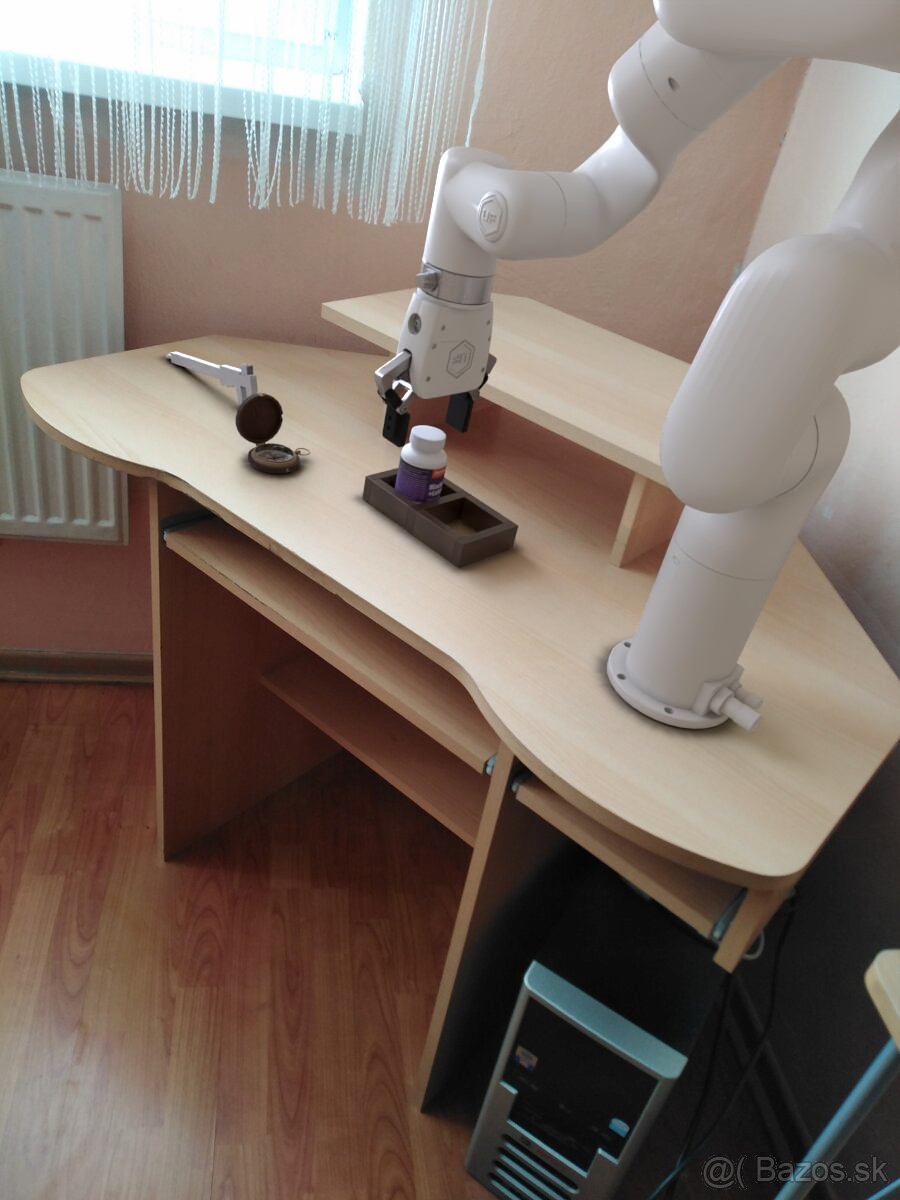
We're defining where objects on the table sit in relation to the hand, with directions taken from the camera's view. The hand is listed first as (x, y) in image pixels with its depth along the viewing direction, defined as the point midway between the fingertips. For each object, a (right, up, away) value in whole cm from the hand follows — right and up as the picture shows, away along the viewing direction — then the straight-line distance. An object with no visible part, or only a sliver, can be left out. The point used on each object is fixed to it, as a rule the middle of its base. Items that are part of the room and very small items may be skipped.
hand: (425, 434), depth 101 cm
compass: (-18, -2, +9) cm, 20 cm away
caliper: (-31, +11, +23) cm, 40 cm away
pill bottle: (-1, -8, +5) cm, 10 cm away
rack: (+1, -10, +3) cm, 10 cm away
